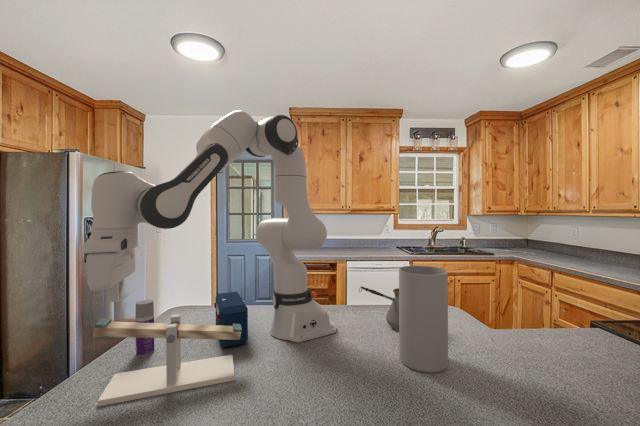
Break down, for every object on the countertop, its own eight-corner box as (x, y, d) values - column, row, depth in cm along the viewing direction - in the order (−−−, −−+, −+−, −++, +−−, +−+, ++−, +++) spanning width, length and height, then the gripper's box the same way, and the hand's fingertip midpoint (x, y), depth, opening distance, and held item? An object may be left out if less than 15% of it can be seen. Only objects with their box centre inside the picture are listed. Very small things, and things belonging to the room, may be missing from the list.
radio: (213, 326, 105) (213, 271, 105) (238, 322, 108) (238, 268, 108) (219, 351, 86) (218, 284, 86) (249, 345, 89) (248, 281, 89)
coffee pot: (410, 320, 109) (410, 280, 109) (425, 332, 98) (425, 288, 98) (355, 323, 107) (355, 282, 107) (364, 336, 95) (363, 291, 95)
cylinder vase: (413, 346, 88) (412, 264, 88) (455, 361, 79) (455, 269, 79) (390, 361, 79) (390, 270, 79) (435, 380, 70) (435, 277, 70)
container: (145, 357, 83) (145, 304, 83) (131, 356, 84) (131, 303, 83) (158, 349, 87) (157, 299, 87) (144, 348, 88) (144, 299, 88)
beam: (238, 334, 79) (240, 323, 79) (239, 341, 75) (241, 329, 75) (99, 331, 68) (102, 318, 69) (91, 338, 64) (94, 325, 64)
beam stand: (232, 358, 82) (231, 306, 81) (234, 380, 71) (234, 320, 71) (115, 378, 72) (114, 319, 72) (97, 406, 62) (96, 338, 62)
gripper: (114, 237, 76) (114, 290, 76) (79, 245, 57) (79, 316, 57) (141, 237, 78) (141, 288, 78) (117, 244, 59) (117, 312, 59)
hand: (115, 300), depth 67 cm, fingers closed
